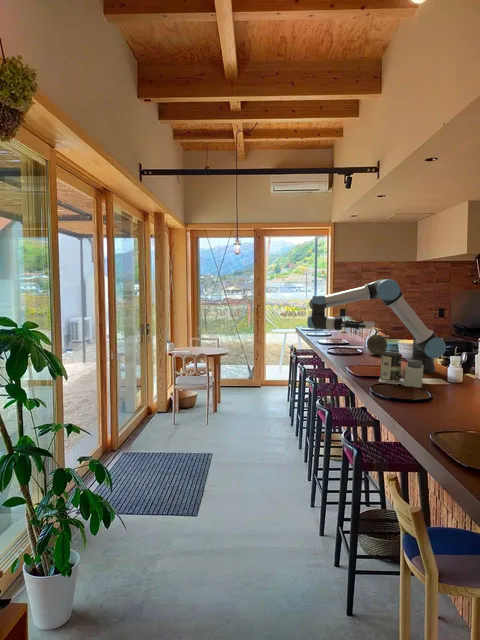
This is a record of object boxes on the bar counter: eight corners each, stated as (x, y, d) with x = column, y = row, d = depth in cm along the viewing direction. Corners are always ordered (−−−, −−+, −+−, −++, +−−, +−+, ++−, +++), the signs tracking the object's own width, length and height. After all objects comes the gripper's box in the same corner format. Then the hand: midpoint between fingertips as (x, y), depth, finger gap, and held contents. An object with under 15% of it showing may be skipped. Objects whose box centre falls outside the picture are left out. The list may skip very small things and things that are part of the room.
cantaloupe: (386, 354, 330) (387, 334, 329) (386, 357, 317) (387, 336, 316) (366, 353, 335) (367, 333, 333) (365, 355, 321) (367, 335, 320)
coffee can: (400, 379, 241) (402, 353, 240) (399, 382, 231) (401, 355, 230) (380, 376, 245) (382, 351, 244) (378, 380, 235) (380, 353, 234)
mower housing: (377, 382, 233) (379, 359, 232) (381, 377, 247) (382, 355, 246) (421, 387, 224) (422, 364, 223) (422, 381, 239) (423, 359, 238)
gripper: (338, 328, 267) (375, 330, 259) (329, 332, 244) (370, 334, 236) (339, 315, 266) (376, 317, 258) (330, 318, 244) (370, 320, 235)
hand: (373, 325), depth 247 cm, fingers open, 13 cm apart
